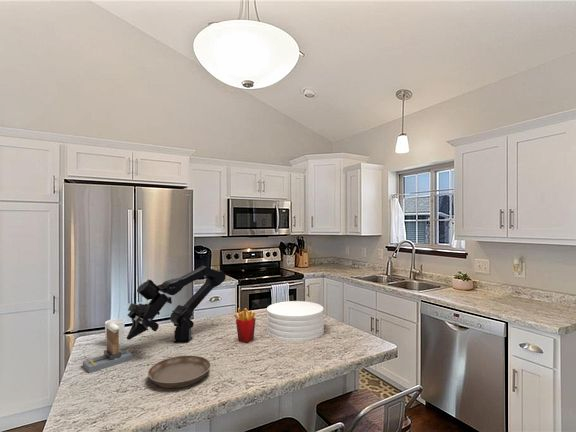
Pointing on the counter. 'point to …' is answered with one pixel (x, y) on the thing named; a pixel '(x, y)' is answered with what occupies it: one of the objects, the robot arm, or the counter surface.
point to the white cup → (121, 328)
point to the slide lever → (112, 341)
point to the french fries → (245, 326)
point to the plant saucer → (179, 371)
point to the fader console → (106, 361)
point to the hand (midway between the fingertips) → (127, 339)
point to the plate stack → (295, 320)
